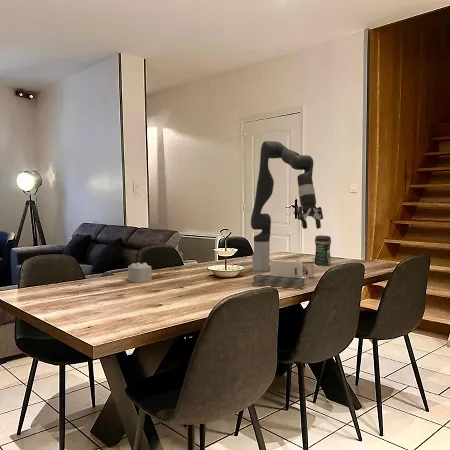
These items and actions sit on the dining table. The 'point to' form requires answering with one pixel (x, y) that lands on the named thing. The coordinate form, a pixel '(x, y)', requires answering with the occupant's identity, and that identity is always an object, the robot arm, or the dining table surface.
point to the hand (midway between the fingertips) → (312, 228)
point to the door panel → (286, 268)
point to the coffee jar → (322, 250)
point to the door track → (278, 281)
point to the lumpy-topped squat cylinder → (139, 272)
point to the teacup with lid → (307, 266)
